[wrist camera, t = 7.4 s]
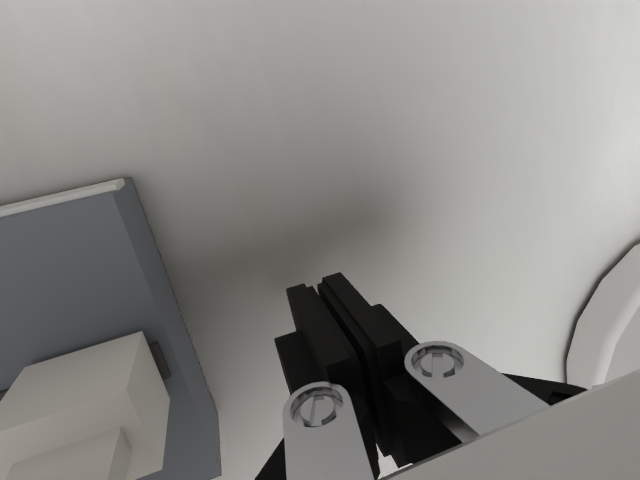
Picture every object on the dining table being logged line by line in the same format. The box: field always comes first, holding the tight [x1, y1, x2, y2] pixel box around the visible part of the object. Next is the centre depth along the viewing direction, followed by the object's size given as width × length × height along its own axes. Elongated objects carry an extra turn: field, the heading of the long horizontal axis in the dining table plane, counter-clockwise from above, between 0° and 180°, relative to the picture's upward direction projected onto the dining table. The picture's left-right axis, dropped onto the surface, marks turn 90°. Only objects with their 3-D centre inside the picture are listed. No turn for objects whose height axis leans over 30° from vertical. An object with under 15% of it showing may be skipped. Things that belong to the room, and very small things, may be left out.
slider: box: [0, 331, 170, 480], centre depth 9 cm, size 3×2×4 cm
